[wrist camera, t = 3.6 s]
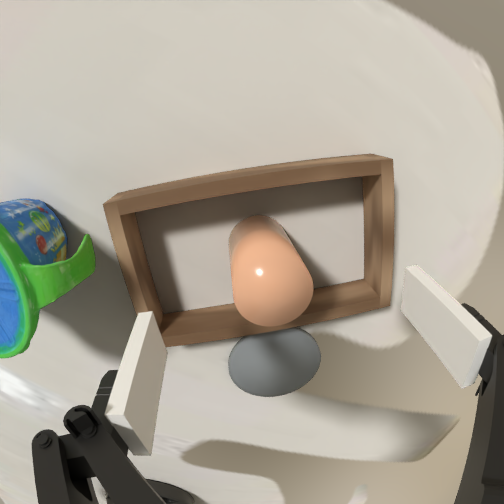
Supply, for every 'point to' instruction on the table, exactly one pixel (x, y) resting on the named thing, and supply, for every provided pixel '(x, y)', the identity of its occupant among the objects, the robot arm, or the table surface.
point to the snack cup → (34, 269)
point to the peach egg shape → (267, 273)
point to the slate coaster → (274, 362)
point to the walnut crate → (249, 179)
